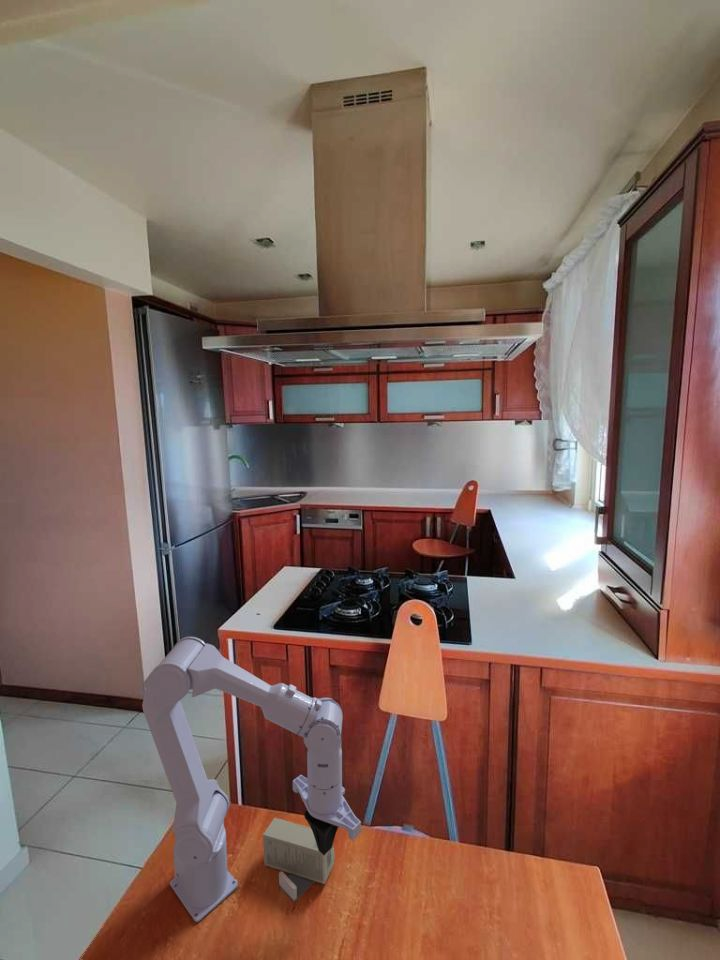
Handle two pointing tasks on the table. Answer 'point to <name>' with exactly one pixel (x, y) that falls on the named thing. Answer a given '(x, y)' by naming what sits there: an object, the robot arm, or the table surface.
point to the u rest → (294, 884)
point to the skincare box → (296, 851)
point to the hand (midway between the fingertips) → (325, 848)
